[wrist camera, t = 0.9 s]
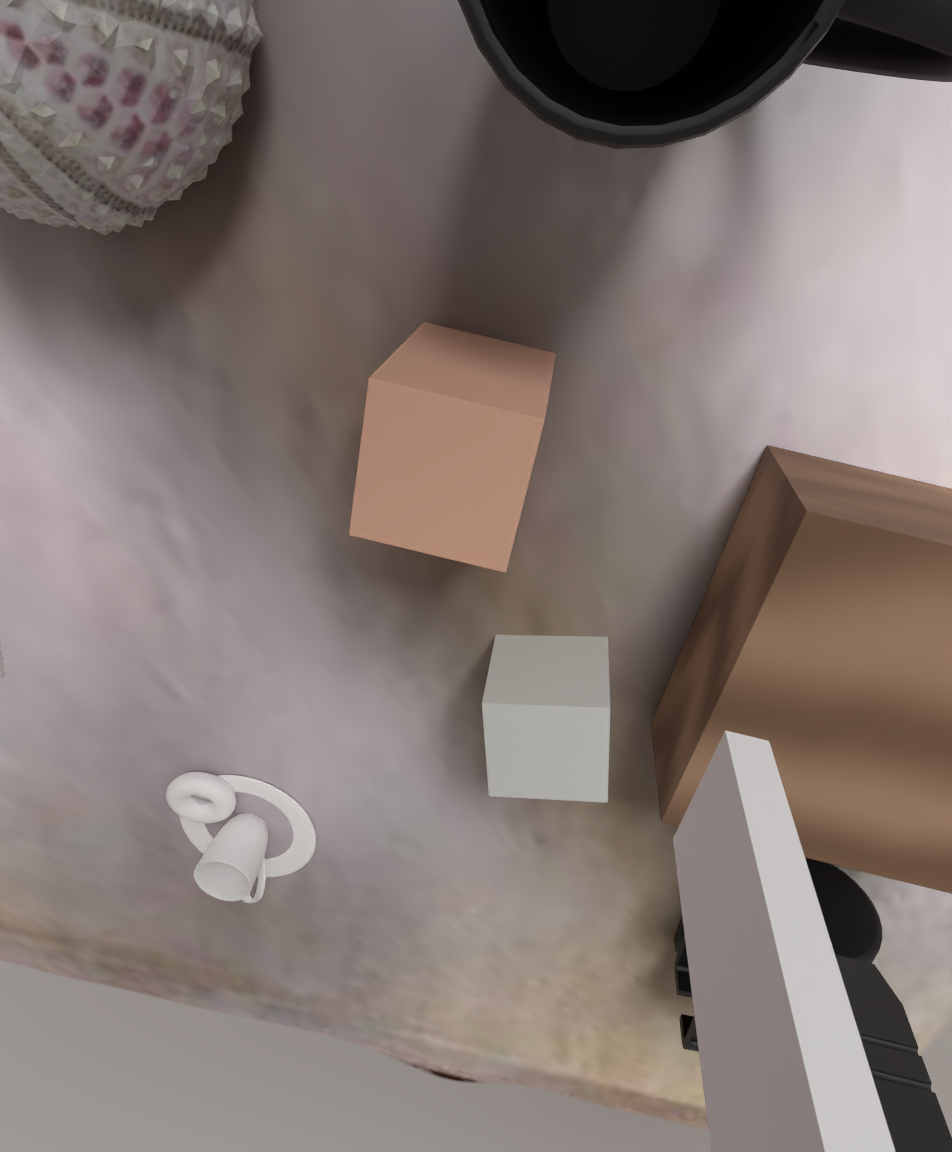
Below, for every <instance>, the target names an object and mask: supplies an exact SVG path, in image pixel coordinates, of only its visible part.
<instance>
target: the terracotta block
mask: <svg viewBox="0 0 952 1152" xmlns="http://www.w3.org/2000/svg"><path fill="white" fill-rule="evenodd" d="M555 358H556V353H554V352H550V351H545V350H541V349H537V348H533V347H528V346H524V345H520V344H516V343H512V342H507V341H503V340H499V339H495V338H490V337H486V336H482V335H478V334H473V333H469V332H465V331H461V330H457V329H452V328H448V327H444V326H440V325H435V324H431V323H427V322H423V323H422V324H421V325H420V326H419V327H418V328H417V329H416V330H415V331H414V332H413V333H412V334H411V335H410V336H409V338H408V339H407V340H406V341H405V342H404V343H403V344H402V345H401V346H400V347H399V348H398V349H397V350H396V351H395V352H394V353H393V354H392V355H391V356H390V357H389V358H388V359H387V360H386V361H385V362H384V363H383V364H382V365H381V366H380V367H379V368H378V369H377V370H376V371H375V372H374V373H373V374H372V375H371V376H370V377H369V381H368V389H367V397H366V404H365V412H364V420H363V428H362V436H361V444H360V451H359V459H358V467H357V475H356V483H355V491H354V499H353V506H352V514H351V522H350V530H349V535H351V536H356V537H360V538H364V539H368V540H372V541H376V542H380V543H385V544H389V545H393V546H397V547H401V548H405V549H409V550H414V551H418V552H422V553H426V554H430V555H434V556H438V557H443V558H447V559H451V560H455V561H459V562H463V563H468V564H472V565H476V566H480V567H484V568H488V569H492V570H497V571H501V572H505V573H506V570H507V567H508V563H509V559H510V555H511V551H512V547H513V543H514V539H515V535H516V531H517V527H518V523H519V519H520V515H521V512H522V508H523V504H524V500H525V496H526V492H527V488H528V484H529V480H530V476H531V472H532V468H533V464H534V460H535V457H536V453H537V449H538V445H539V441H540V437H541V433H542V429H543V425H544V421H545V416H546V410H547V405H548V399H549V393H550V387H551V381H552V375H553V369H554V364H555Z"/></svg>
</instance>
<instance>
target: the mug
mask: <svg viewBox="0 0 952 1152" xmlns="http://www.w3.org/2000/svg"><path fill="white" fill-rule="evenodd" d="M458 1H459V4H460V6H461V9H462V11H463V13H464V16H465V18H466V21H467V23H468V25H469V28H470V30H471V33H472V35H473V37H474V40H475V42H476V45H477V47H478V49H479V50H480V52H481V53H482V54H483V56H484V57H485V59H486V60H487V62H488V63H489V65H490V66H491V68H492V69H493V71H494V72H495V73H496V75H497V76H498V78H499V79H500V81H501V82H502V84H503V85H504V87H505V88H506V89H507V90H509V91H510V92H511V93H512V94H513V95H514V96H515V97H516V98H517V99H518V100H519V101H521V102H522V103H523V104H524V105H525V106H526V107H527V108H528V109H529V110H530V111H531V112H533V113H534V114H535V115H536V116H537V117H538V118H539V119H541V120H542V121H544V122H546V123H548V124H550V125H552V126H553V127H555V128H557V129H559V130H561V131H563V132H565V133H566V134H568V135H570V136H572V137H574V138H576V139H578V140H581V141H586V142H590V143H594V144H598V145H603V146H607V147H611V148H615V149H618V148H656V147H663V146H667V145H671V144H674V143H678V142H681V141H685V140H689V139H692V138H696V137H700V136H703V135H706V134H708V133H710V132H712V131H714V130H716V129H717V128H719V127H721V126H723V125H725V124H727V123H729V122H731V121H732V120H734V119H736V118H738V117H740V116H742V115H744V114H745V113H747V112H749V111H750V110H752V109H753V108H754V107H755V106H756V105H758V104H759V103H760V102H761V101H762V100H764V99H765V98H766V97H767V96H768V95H770V94H771V93H772V92H773V91H774V90H776V89H777V88H778V87H779V86H780V85H782V84H783V83H784V82H785V81H786V80H788V79H789V78H790V77H791V76H792V75H793V73H794V72H795V71H796V70H797V68H798V67H799V66H800V65H801V64H802V63H804V64H810V65H816V66H822V67H828V68H835V69H842V70H848V71H855V72H862V73H870V74H877V75H884V76H892V77H900V78H908V79H917V80H927V81H941V82H952V0H458Z"/></svg>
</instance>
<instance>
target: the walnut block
mask: <svg viewBox="0 0 952 1152" xmlns="http://www.w3.org/2000/svg"><path fill="white" fill-rule="evenodd" d="M651 730H652V740H653V749H654V759H655V768H656V778H657V788H658V797H659V807H660V816H661V822H663V823H667V824H672V825H676V826H679V825H680V823H681V821H682V819H683V817H684V815H685V813H686V811H687V808H688V806H689V804H690V802H691V800H692V798H693V796H694V794H695V792H696V790H697V788H698V786H699V784H700V782H701V779H702V777H703V775H704V773H705V771H706V769H707V767H708V765H709V763H710V761H711V759H712V757H713V755H714V753H715V750H716V748H717V746H718V744H719V742H720V740H721V738H722V736H723V734H724V732H725V730H726V731H730V732H734V733H738V734H742V735H747V736H751V737H755V738H759V739H763V740H767V741H769V742H770V745H771V749H772V752H773V755H774V758H775V762H776V765H777V768H778V771H779V775H780V778H781V781H782V784H783V788H784V791H785V794H786V797H787V801H788V804H789V807H790V810H791V814H792V817H793V820H794V823H795V827H796V830H797V833H798V836H799V840H800V843H801V846H802V849H803V853H804V856H805V858H810V859H814V860H818V861H822V862H826V863H830V864H834V865H838V866H842V867H846V868H850V869H854V870H858V871H862V872H866V873H870V874H874V875H879V876H883V877H887V878H891V879H895V880H899V881H903V882H907V883H911V884H915V885H919V886H923V887H927V888H931V889H935V890H939V891H943V892H948V893H952V489H949V488H945V487H941V486H937V485H932V484H928V483H924V482H920V481H915V480H911V479H907V478H903V477H899V476H894V475H890V474H886V473H882V472H878V471H873V470H869V469H865V468H861V467H857V466H852V465H848V464H844V463H840V462H835V461H831V460H827V459H823V458H819V457H814V456H810V455H806V454H802V453H798V452H793V451H789V450H785V449H781V448H776V447H772V446H768V445H767V447H766V450H765V452H764V454H763V457H762V459H761V462H760V464H759V466H758V469H757V471H756V473H755V476H754V478H753V481H752V483H751V485H750V488H749V490H748V493H747V495H746V497H745V500H744V502H743V505H742V507H741V509H740V512H739V514H738V516H737V519H736V521H735V524H734V526H733V528H732V531H731V533H730V536H729V538H728V540H727V543H726V545H725V548H724V550H723V552H722V555H721V557H720V559H719V562H718V564H717V567H716V569H715V571H714V574H713V576H712V579H711V581H710V583H709V586H708V588H707V591H706V593H705V595H704V598H703V600H702V602H701V605H700V607H699V610H698V612H697V614H696V617H695V619H694V622H693V624H692V626H691V629H690V631H689V634H688V636H687V638H686V641H685V643H684V646H683V648H682V650H681V653H680V655H679V657H678V660H677V662H676V665H675V667H674V669H673V672H672V674H671V677H670V679H669V681H668V684H667V686H666V689H665V691H664V693H663V696H662V698H661V700H660V703H659V705H658V708H657V710H656V712H655V715H654V717H653V720H652V722H651Z"/></svg>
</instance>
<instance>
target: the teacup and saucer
mask: <svg viewBox="0 0 952 1152" xmlns="http://www.w3.org/2000/svg"><path fill="white" fill-rule="evenodd" d="M234 792H242V793H248V794H252V795H255V796H258V797H261V798H263V799H265V800H267V801H269V802H271V803H272V804H274V805H275V806H276V807H278V808H279V809H280V810H281V811H282V812H283V813H284V814H285V815H286V817H287V818H288V820H289V821H290V823H291V826H292V828H293V842H292V844H291V846H290V848H289V849H288V850H287V851H286V852H285V853H283V854H282V855H280V856H277V857H274V858H269V859H265V857H264V855H265V852H266V848H267V844H268V828H267V825H266V823H265V822H264V821H263V820H262V819H261V818H259V817H257V816H255V815H253V814H249V813H242V814H238V815H236V816H234V817H233V818H231V819H230V820H229V821H228V822H227V823H226V824H225V825H224V826H223V827H222V828H221V829H220V831H219V832H218V833H217V835H216V836H215V838H213V837H212V836H211V835H210V834H209V832H208V830H207V829H206V827H205V824H204V823H215V822H219V821H222V820H224V819H226V818H227V817H229V816H230V815H231V814H232V812H233V811H234V809H235V806H236V796H235V793H234ZM166 800H167V802H168V804H169V806H170V807H171V809H172V810H173V811H174V812H175V813H176V814H178V815H179V816H180V821H181V825H182V827H183V830H184V832H185V833H186V835H187V837H188V838H189V840H190V841H191V842H192V843H193V845H194V846H195V847H196V848H197V849H198V850H199V851H200V852H202V853H203V856H202V858H201V859H200V861H199V862H198V864H197V866H196V868H195V870H194V879H195V881H196V883H197V885H198V886H199V887H200V888H201V889H202V890H203V891H204V892H205V893H207V894H208V895H210V896H212V897H214V898H217V899H220V900H224V901H239V900H242V901H243V902H245V903H254V902H257V901H259V900H260V899H261V898H262V896H263V893H264V889H265V883H266V877H278V876H284V875H288V874H291V873H293V872H295V871H297V870H299V869H301V868H302V867H303V866H305V865H306V864H307V863H308V862H309V860H310V859H311V858H312V856H313V854H314V851H315V848H316V833H315V829H314V826H313V824H312V822H311V820H310V818H309V816H308V815H307V814H306V812H305V811H304V810H303V808H302V807H301V806H300V805H299V804H298V803H297V802H296V801H295V800H293V799H292V798H291V797H290V796H288V795H287V794H286V793H284V792H283V791H281V790H279V789H278V788H276V787H274V786H272V785H270V784H267V783H265V782H262V781H260V780H256V779H253V778H249V777H244V776H237V775H220V776H215V775H213V774H209V773H205V772H188V773H184V774H182V775H180V776H178V777H176V778H175V779H174V780H173V781H172V782H171V783H170V784H169V786H168V788H167V791H166ZM210 800H211V801H210ZM256 877H258V884H257V889H256V893H255V896H254V898H251V896H250V892H251V890H252V887H253V885H254V883H255V880H256Z"/></svg>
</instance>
